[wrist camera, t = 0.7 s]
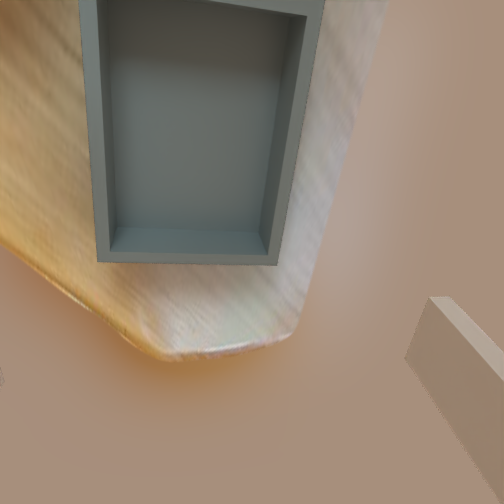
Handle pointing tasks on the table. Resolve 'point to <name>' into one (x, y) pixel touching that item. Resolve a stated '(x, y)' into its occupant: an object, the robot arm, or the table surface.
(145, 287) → the table surface
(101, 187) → the bin
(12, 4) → the table surface
